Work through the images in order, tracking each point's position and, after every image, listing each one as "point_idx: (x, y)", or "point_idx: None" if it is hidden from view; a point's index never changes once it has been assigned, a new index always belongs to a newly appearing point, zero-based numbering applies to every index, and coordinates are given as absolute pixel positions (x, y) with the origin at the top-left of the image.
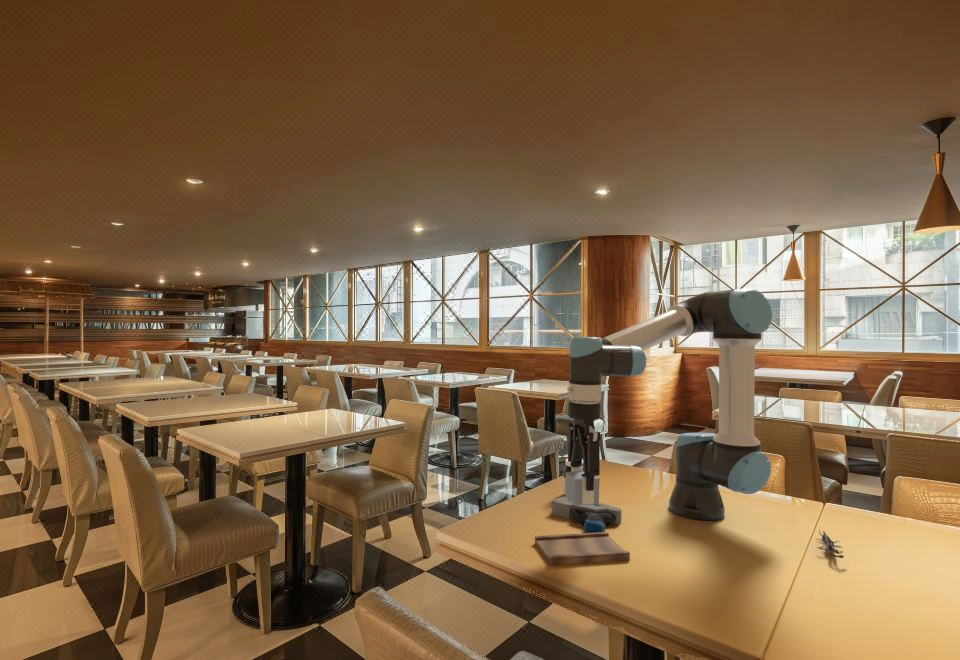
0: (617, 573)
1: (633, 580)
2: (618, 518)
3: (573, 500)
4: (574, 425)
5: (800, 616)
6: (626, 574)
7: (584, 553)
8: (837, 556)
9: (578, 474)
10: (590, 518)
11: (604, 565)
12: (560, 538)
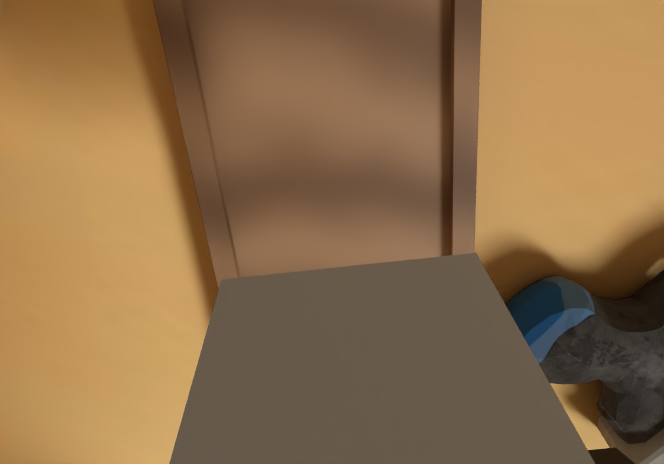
0: (117, 283)
1: (63, 321)
2: (612, 445)
3: (245, 296)
4: None
5: None
6: (113, 313)
7: (253, 196)
8: None
9: None
10: (584, 336)
11: (190, 254)
12: (450, 117)
